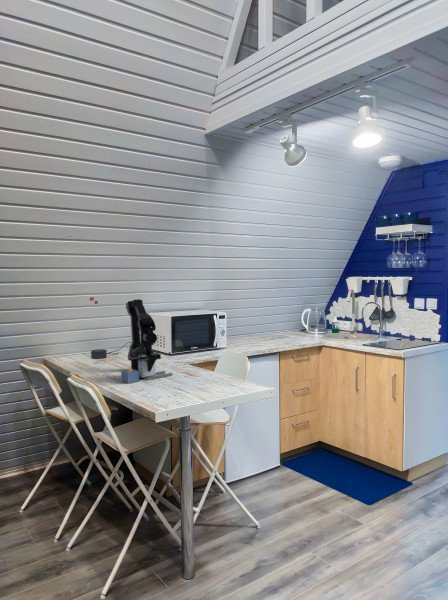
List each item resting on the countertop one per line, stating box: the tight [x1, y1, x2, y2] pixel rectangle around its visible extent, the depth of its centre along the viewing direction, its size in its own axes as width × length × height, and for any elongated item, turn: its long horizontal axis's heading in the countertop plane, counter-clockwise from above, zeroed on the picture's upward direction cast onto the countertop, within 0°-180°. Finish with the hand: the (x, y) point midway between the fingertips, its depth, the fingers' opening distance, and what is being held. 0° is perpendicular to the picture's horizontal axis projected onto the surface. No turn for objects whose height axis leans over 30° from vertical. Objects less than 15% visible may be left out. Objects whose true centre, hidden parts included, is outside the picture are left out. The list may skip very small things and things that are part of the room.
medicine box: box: [138, 359, 157, 378], centre depth 235 cm, size 8×4×9 cm, turn 130°
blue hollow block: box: [120, 369, 140, 385], centre depth 228 cm, size 7×6×6 cm
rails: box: [139, 370, 173, 381], centre depth 238 cm, size 8×16×1 cm, turn 130°
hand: (147, 370), depth 235 cm, fingers closed on medicine box, 4 cm apart
